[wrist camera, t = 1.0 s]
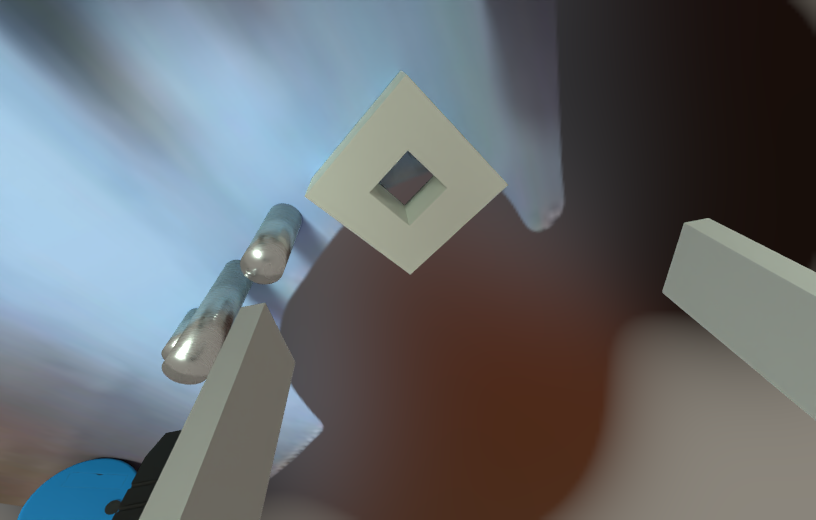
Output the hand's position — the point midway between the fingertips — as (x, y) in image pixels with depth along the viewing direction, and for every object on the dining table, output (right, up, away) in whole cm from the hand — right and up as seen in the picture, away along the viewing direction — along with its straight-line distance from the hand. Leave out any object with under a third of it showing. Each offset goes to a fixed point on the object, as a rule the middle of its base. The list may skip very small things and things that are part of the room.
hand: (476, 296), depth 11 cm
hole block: (-3, +10, +24) cm, 26 cm away
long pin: (-21, 0, +28) cm, 35 cm away
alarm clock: (-51, -32, +45) cm, 75 cm away
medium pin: (-15, +6, +25) cm, 30 cm away
